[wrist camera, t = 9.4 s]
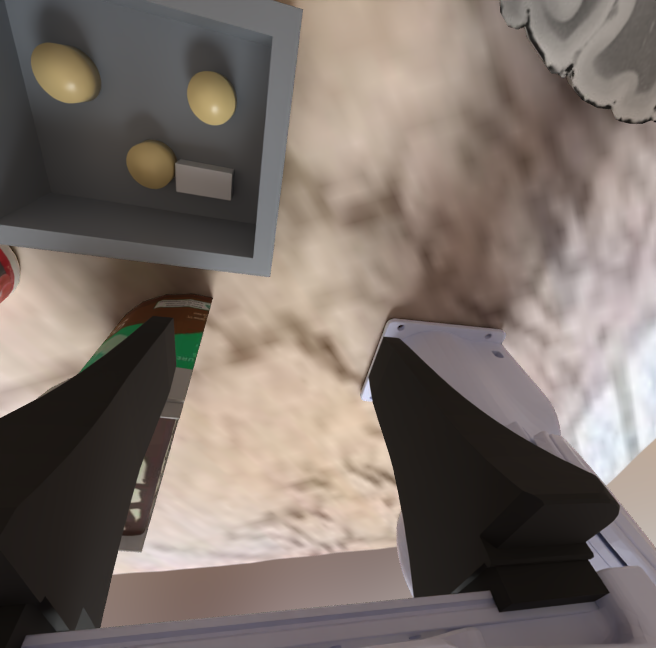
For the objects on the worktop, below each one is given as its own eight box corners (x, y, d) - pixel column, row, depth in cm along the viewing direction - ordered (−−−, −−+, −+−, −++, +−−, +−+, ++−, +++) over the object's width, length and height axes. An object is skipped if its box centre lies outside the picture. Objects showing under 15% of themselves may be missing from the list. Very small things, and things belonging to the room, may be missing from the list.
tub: (294, 29, 14) (302, 9, 10) (270, 235, 19) (269, 277, 15) (-23, -63, 12) (-180, -137, 8) (45, 201, 17) (-29, 240, 13)
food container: (102, 243, 18) (-35, 373, 10) (218, 277, 20) (182, 408, 12) (90, 396, 24) (0, 553, 16) (181, 410, 26) (140, 557, 18)
